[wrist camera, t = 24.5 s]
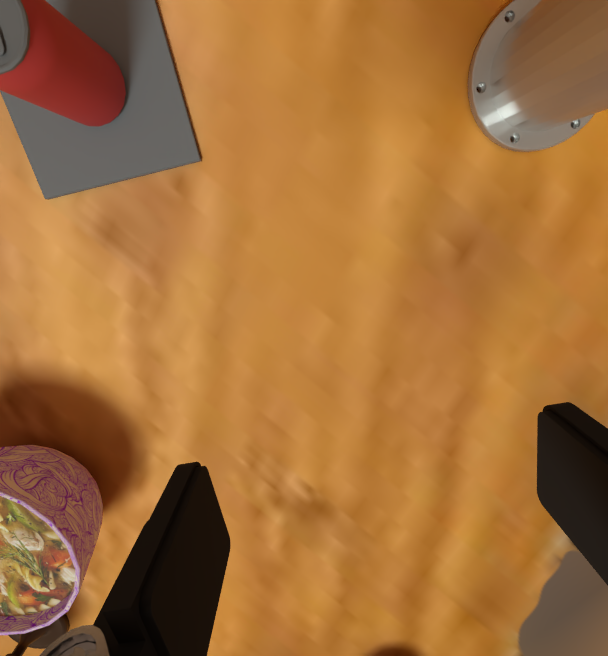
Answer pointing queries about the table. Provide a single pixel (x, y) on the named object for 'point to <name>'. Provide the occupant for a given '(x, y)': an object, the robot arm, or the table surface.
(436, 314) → the table surface
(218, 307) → the table surface
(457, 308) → the table surface
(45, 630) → the candlestick
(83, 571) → the bowl of food
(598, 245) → the table surface
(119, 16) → the slate mat
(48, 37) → the beer can
